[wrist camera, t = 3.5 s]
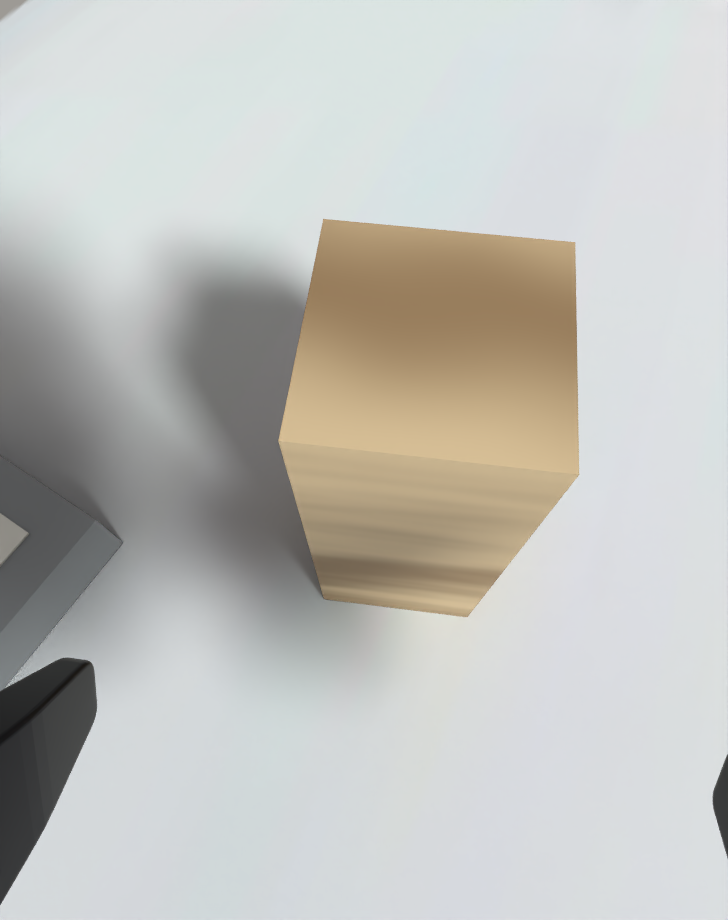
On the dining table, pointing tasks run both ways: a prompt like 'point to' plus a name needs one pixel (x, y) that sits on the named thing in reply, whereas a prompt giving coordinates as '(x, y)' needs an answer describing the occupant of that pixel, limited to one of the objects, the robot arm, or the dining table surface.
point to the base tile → (41, 562)
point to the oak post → (430, 409)
